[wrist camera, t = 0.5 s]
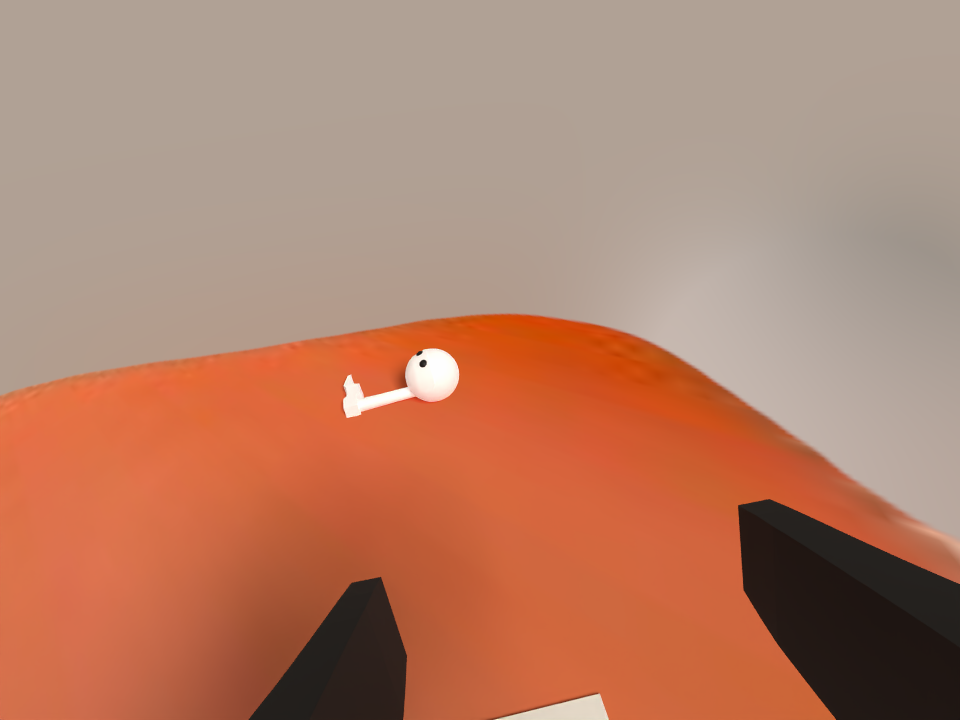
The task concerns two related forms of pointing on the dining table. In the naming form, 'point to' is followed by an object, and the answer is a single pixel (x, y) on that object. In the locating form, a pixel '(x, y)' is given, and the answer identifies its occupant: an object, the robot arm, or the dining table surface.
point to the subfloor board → (567, 711)
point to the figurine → (410, 383)
